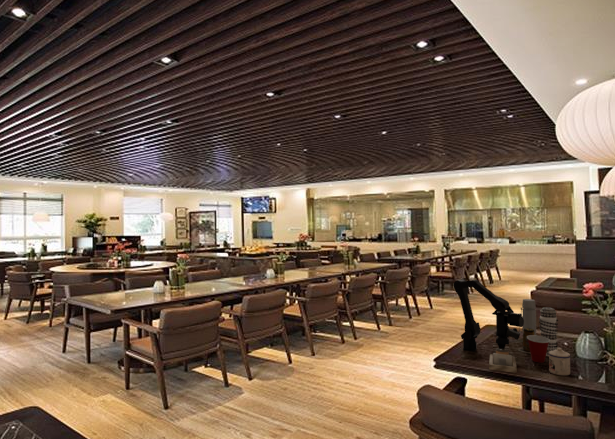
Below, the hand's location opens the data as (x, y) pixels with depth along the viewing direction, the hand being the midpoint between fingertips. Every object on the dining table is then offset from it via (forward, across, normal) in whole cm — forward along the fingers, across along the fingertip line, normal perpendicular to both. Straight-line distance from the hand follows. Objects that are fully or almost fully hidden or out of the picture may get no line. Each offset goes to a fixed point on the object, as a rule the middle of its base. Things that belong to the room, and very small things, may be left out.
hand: (502, 353), depth 231 cm
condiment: (+2, +18, -13) cm, 22 cm away
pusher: (+2, -15, 0) cm, 15 cm away
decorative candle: (+2, +15, -23) cm, 28 cm away
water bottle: (+2, +39, -14) cm, 41 cm away
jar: (+2, -7, 0) cm, 7 cm away
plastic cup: (+2, 0, -17) cm, 17 cm away
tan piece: (+2, -14, 0) cm, 15 cm away
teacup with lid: (+2, -17, -25) cm, 30 cm away
